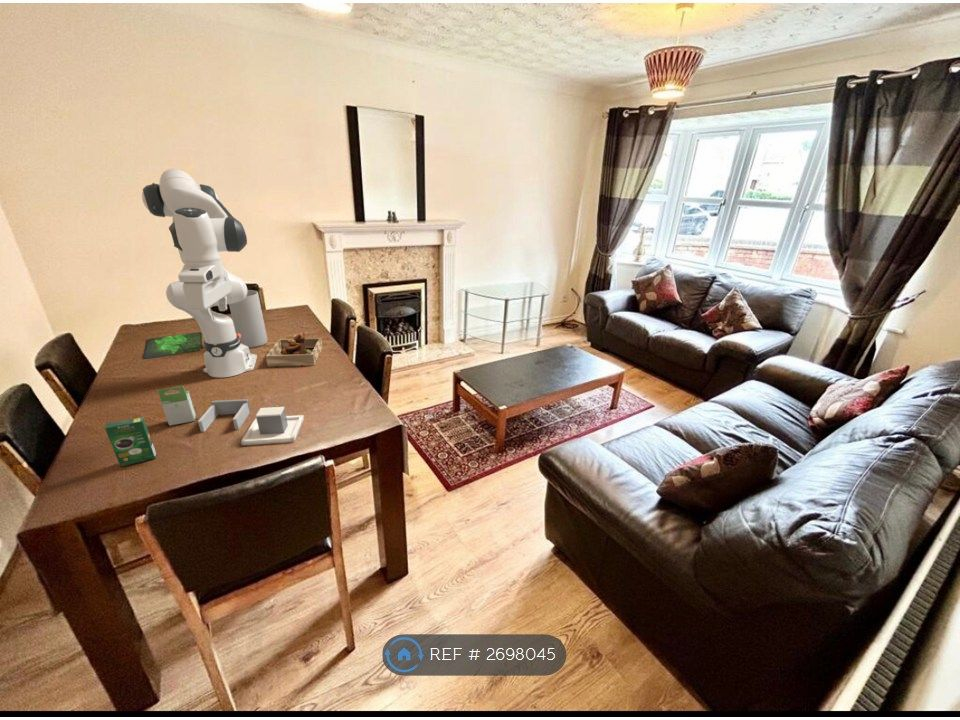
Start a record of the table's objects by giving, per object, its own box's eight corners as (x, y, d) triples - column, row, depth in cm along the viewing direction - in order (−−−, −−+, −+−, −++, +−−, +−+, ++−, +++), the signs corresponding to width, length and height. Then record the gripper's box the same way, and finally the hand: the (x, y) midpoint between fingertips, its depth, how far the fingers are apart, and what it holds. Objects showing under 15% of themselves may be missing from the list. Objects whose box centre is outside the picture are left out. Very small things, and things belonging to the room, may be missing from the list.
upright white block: (264, 426, 125) (260, 407, 122) (287, 425, 127) (284, 406, 124) (260, 434, 121) (255, 415, 118) (284, 433, 123) (280, 414, 120)
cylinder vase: (258, 337, 196) (248, 288, 185) (273, 342, 190) (263, 293, 180) (233, 344, 186) (221, 294, 176) (248, 350, 180) (236, 298, 170)
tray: (256, 421, 129) (255, 417, 128) (304, 418, 131) (303, 415, 131) (242, 445, 117) (241, 441, 116) (294, 441, 120) (293, 437, 119)
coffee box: (158, 453, 112) (143, 415, 107) (156, 458, 110) (142, 420, 105) (122, 461, 109) (105, 422, 103) (120, 467, 106) (102, 428, 101)
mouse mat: (203, 351, 178) (202, 349, 178) (142, 360, 167) (141, 358, 166) (201, 333, 199) (201, 331, 198) (147, 340, 187) (146, 338, 187)
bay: (216, 413, 132) (212, 400, 130) (250, 411, 134) (247, 398, 132) (201, 431, 122) (196, 418, 120) (238, 429, 124) (235, 416, 122)
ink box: (196, 415, 131) (185, 380, 125) (194, 421, 127) (183, 386, 122) (171, 420, 128) (159, 384, 122) (169, 426, 124) (156, 390, 119)
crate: (280, 348, 184) (279, 339, 182) (322, 347, 187) (321, 337, 185) (267, 366, 166) (265, 356, 164) (314, 365, 169) (312, 354, 167)
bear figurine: (290, 351, 182) (285, 327, 177) (319, 354, 180) (315, 330, 175) (271, 363, 170) (265, 337, 165) (302, 366, 168) (297, 340, 163)
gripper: (209, 261, 118) (219, 305, 124) (174, 277, 100) (188, 327, 106) (231, 262, 119) (241, 304, 125) (201, 277, 101) (214, 326, 107)
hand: (217, 315), depth 116 cm, fingers open, 8 cm apart
